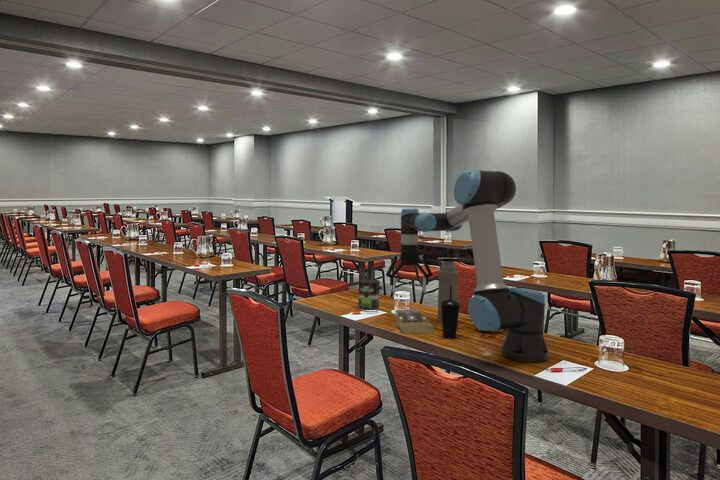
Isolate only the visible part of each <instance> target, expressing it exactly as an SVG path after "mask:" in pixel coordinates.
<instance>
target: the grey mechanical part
mask: <svg viewBox="0 0 720 480" xmlns="http://www.w3.org/2000/svg"><path fill="white" fill-rule="evenodd" d="M398 316H404V320H405V323H408V322H420V317H421V316H422V312H421V311H420V310H419V308H418V309H416V308H415V309H413V308H411V309H406V308H405V309H395V321H396V322H397V317H398Z"/></svg>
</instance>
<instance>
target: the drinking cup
mask: <svg viewBox="0 0 720 480" xmlns="http://www.w3.org/2000/svg"><path fill="white" fill-rule="evenodd" d="M451 295H452V286H450V299H447V300H444V301H441V302H440V303H441V309H442V323H441V325H442V337H443V338H445V339H448V340H449V339H456V337H457V329H458V322H459V313H460V305H461V302H460V301H459V300H457V301H456V300H453V299H451Z"/></svg>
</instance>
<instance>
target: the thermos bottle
mask: <svg viewBox="0 0 720 480" xmlns="http://www.w3.org/2000/svg"><path fill="white" fill-rule="evenodd" d="M439 269H440V270H438V286H437V291H438V293H437V295H438V296H437V298H438V299H437V322H438V323H439V324H442V309H441V303H440V302H441V301H444V300H447V299H450V286H452V295H451V299H453V300H456V301H458V300H457V298H458V297H457V296H458V295H457V294H458V271H456V270H457V267H456V265H455V258H448V257H446V258H442V265H440V267H439Z"/></svg>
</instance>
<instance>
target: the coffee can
mask: <svg viewBox="0 0 720 480" xmlns="http://www.w3.org/2000/svg"><path fill="white" fill-rule="evenodd" d="M380 284H381V282H380V280H378V279H372V278H367V279H366V278H365V279H359V280H358V307H357V308H359V309H362V310H377V309H379V310H380V286H381V285H380ZM359 309H358V310H359Z"/></svg>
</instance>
